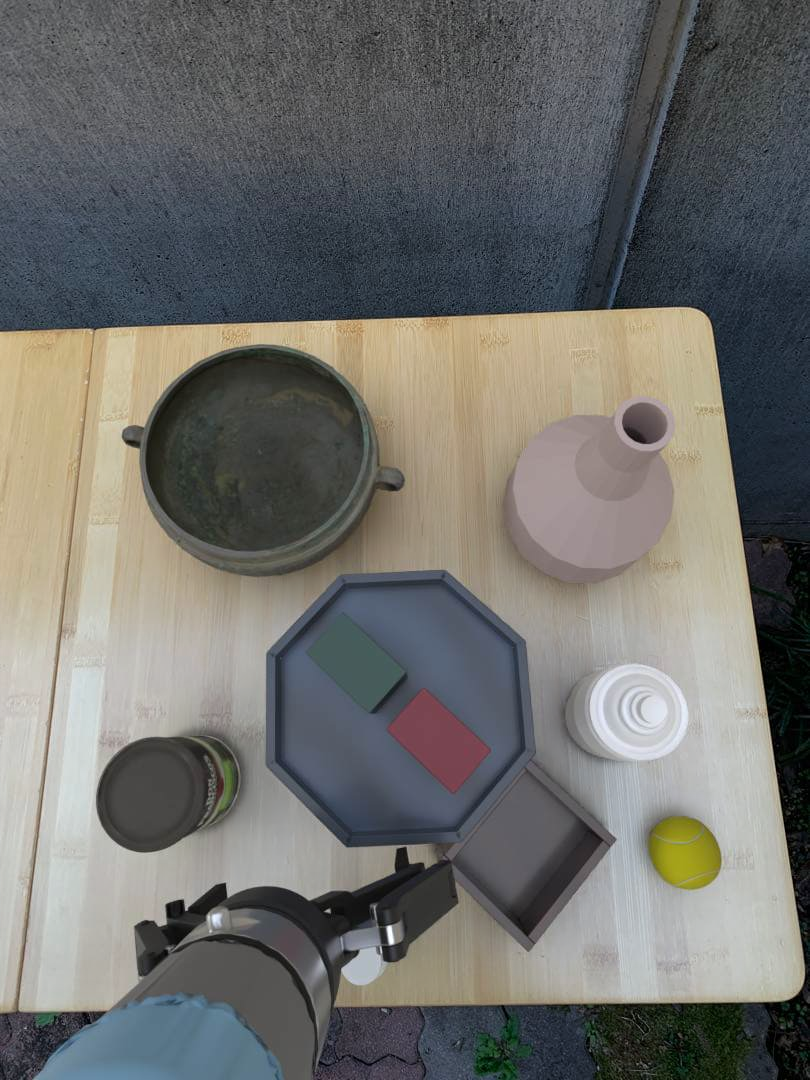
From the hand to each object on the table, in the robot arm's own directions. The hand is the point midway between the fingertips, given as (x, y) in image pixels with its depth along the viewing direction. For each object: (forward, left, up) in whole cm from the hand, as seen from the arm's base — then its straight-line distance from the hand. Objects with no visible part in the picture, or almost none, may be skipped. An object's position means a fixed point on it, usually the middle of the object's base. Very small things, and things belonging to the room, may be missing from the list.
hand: (314, 884), depth 50 cm
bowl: (+23, +34, -27) cm, 49 cm away
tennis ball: (+23, -28, -27) cm, 45 cm away
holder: (+12, -15, -27) cm, 33 cm away
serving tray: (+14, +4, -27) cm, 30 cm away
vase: (+44, +4, -27) cm, 52 cm away
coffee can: (-8, +16, -27) cm, 32 cm away
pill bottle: (-6, -9, -27) cm, 29 cm away
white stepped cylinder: (+28, -13, -27) cm, 41 cm away
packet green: (+14, +8, -2) cm, 16 cm away
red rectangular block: (+14, 0, -2) cm, 14 cm away
